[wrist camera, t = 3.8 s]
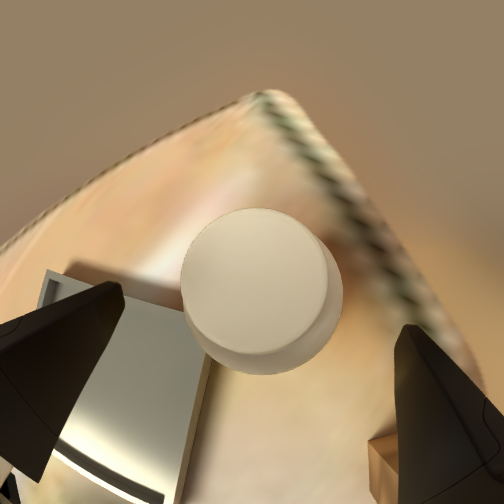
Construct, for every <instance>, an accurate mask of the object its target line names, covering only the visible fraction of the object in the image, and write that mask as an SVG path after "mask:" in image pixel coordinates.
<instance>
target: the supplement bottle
mask: <svg viewBox="0 0 504 504" xmlns="http://www.w3.org/2000/svg"><path fill="white" fill-rule="evenodd" d="M180 284H181V294H182V298H183V307H184V313H185V317H186V321H187V324H188V326H189V329H190V331H191V333H192V335H193V336H194V338H195V339H196V341H197V342H198V344H199V345H200V346H201V347H202V349H203V350H204V351H205V352H206V353H207V354H208V355H209V356H211V357H212V358H213V359H214V360H216V361H217V362H219V363H220V364H222V365H224V366H226V367H228V368H230V369H232V370H235V371H238V372H242V373H246V374H253V375H272V374H278V373H283V372H286V371H289V370H292V369H294V368H296V367H299V366H301V365H302V364H304V363H306V362H307V361H309V360H310V359H311V358H313V357H314V356H315V355H316V354H317V353H318V352H319V351H320V350H321V349H322V348H323V347H324V346H325V345H326V344H327V342H328V341H329V339H330V338H331V336H332V335H333V333H334V331H335V329H336V327H337V324H338V322H339V319H340V315H341V311H342V306H343V285H342V279H341V275H340V271H339V269H338V266H337V263H336V261H335V259H334V258H333V256H332V254H331V252H330V251H329V249H328V248H327V247H326V246H325V245H324V243H323V242H322V241H321V240H320V239H319V238H318V237H316V236H315V235H314V234H313V233H312V232H311V231H310V230H309V229H308V228H307V227H306V226H305V225H304V224H302V223H301V222H300V221H298V220H297V219H295V218H293V217H291V216H290V215H288V214H285V213H282V212H280V211H277V210H272V209H267V208H246V209H241V210H236V211H233V212H231V213H228V214H225V215H223V216H221V217H219V218H218V219H216V220H215V221H213V222H212V223H210V224H209V225H208V226H206V227H205V228H204V229H203V230H202V231H201V232H200V233H199V235H198V236H197V237H196V238H195V239H194V241H193V242H192V244H191V246H190V247H189V249H188V251H187V254H186V256H185V258H184V262H183V265H182V271H181V281H180Z"/></svg>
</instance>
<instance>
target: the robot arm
mask: <svg viewBox="0 0 504 504" xmlns="http://www.w3.org/2000/svg"><path fill="white" fill-rule="evenodd" d="M124 309H125V299H124V295H123V291H122V287H121V285H120V283H118V282H115V281H106V282H104V283H101V284H99V285H96V286H94V287H91V288H89V289H86V290H84V291H81V292H79V293H76V294H74V295H71V296H69V297H66V298H64V299H61V300H59V301H56V302H54V303H52V304H49V305H47V306H44V307H42V308H39V309H37V310H35V311H32V312H30V313H27V314H25V315H24V316H20V317H18V318H16V319H13V320H11V321H8V322H6V323H3V324H0V504H21V502H20V498H19V493H18V489H17V484H16V479H15V475H14V474H13V473H12V472H11V470H12V469H13V467H15V468H16V469H18V470H19V471H20V472H22V473H23V474H25V475H26V476H28V477H29V478H30V479H32V480H33V481H35V482H36V483H39V481H40V480H41V477H42V475H43V472H44V470H45V468H46V465H47V463H48V461H49V458H50V456H51V454H52V452H53V450H54V447H55V445H56V443H57V441H58V438H59V436H60V434H61V432H62V430H63V428H64V426H65V424H66V422H67V420H68V418H69V416H70V414H71V412H72V410H73V408H74V406H75V404H76V402H77V400H78V398H79V396H80V394H81V392H82V390H83V389H84V387H85V385H86V383H87V381H88V379H89V377H90V376H91V374H92V372H93V370H94V368H95V367H96V365H97V363H98V361H99V359H100V358H101V356H102V354H103V352H104V351H105V349H106V347H107V345H108V343H109V341H110V339H111V337H112V335H113V333H114V330H115V328H116V326H117V324H118V322H119V320H120V318H121V315H122V313H123V311H124ZM394 394H395V407H396V421H397V438H398V504H504V416H503V415H502V414H501V413H500V411H498V409H497V408H496V407H495V406H494V405H493V404H492V403H491V401H490V400H489V399H488V398H487V397H485V395H484V394H483V393H482V391H481V390H480V389H479V388H478V387H477V386H476V385H475V384H474V383H473V382H472V381H471V379H470V378H469V377H468V376H467V375H466V374H465V373H464V372H463V371H462V370H461V369H460V368H459V367H458V366H457V365H456V363H455V362H454V361H453V360H452V359H451V358H450V357H449V356H448V355H447V354H446V353H445V352H444V351H443V350H442V349H441V348H440V347H439V346H438V345H437V344H436V343H435V342H434V341H433V340H432V339H431V338H430V337H429V336H428V335H427V334H426V333H425V332H424V331H423V330H422V329H421V328H420V327H419V326H418V325H412V324H406V325H404V326H403V328H402V330H401V333H400V335H399V337H398V339H397V342H396V344H395V348H394Z"/></svg>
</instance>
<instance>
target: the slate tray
mask: <svg viewBox="0 0 504 504" xmlns="http://www.w3.org/2000/svg"><path fill="white" fill-rule="evenodd" d="M91 287H94V285H91V284H88V283H85V282H82V281H79V280H76V279H73V278H70V277H67V276H65V275H62V274H59V273H56V272H54V271H51V270H48V269H47V271H46V274H45V278H44V281H43V285H42V289H41V292H40V296H39V300H38V304H37V309H39V308H42V307H44V306H47V305H49V304H52V303H54V302H56V301H59V300H61V299H64V298H66V297H69V296H71V295H74V294H76V293H79V292H81V291H84V290H86V289H89V288H91ZM124 299H125V309H124V311H123V313H122V315H121V318H120V320H119V322H118V324H117V326H116V328H115V330H114V333H113V335H112V337H111V339H110V341H109V343H108V345H107V347H106V349H105V351H104V352H103V354H102V356H101V358H100V359H99V361H98V363H97V365H96V367H95V368H94V370H93V372H92V374H91V376H90V377H89V379H88V381H87V383H86V385H85V387H84V389H83V390H82V392H81V394H80V396H79V398H78V400H77V402H76V404H75V406H74V408H73V410H72V412H71V414H70V416H69V418H68V420H67V422H66V424H65V426H64V428H63V430H62V432H61V434H60V436H59V438H58V441H57V443H56V445H55V447H54V450H53V452H52V454H53V455H55V456H56V457H57V458H59V459H60V460H61V461H63V462H64V463H66V464H67V465H69V466H70V467H72V468H73V469H75V470H76V471H78V472H79V473H81V474H82V475H84V476H85V477H87V478H89V479H90V480H92V481H94V482H95V483H97V484H99V485H100V486H102V487H104V488H106V489H107V490H109V491H111V492H113V493H115V494H117V495H119V496H121V497H122V498H124V499H126V500H128V501H131V502H133V503H135V504H180V502H181V498H182V493H183V488H184V483H185V479H186V474H187V469H188V465H189V460H190V455H191V451H192V446H193V442H194V437H195V433H196V428H197V424H198V419H199V415H200V410H201V406H202V401H203V397H204V393H205V388H206V384H207V380H208V375H209V371H210V367H211V362H212V357H211V356H209V355H208V354H207V353H206V352H205V351H204V350H203V349H202V347H201V346H200V345H199V344H198V342H197V341H196V339H195V338H194V336H193V335H192V333H191V331H190V329H189V326H188V324H187V321H186V317H185V313H184V312H182V311H178V310H174V309H170V308H167V307H163V306H159V305H156V304H152V303H149V302H145V301H142V300H138V299H135V298H132V297H128V296H125V295H124ZM37 309H36V310H37Z"/></svg>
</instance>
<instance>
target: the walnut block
mask: <svg viewBox="0 0 504 504" xmlns="http://www.w3.org/2000/svg"><path fill="white" fill-rule="evenodd" d="M368 457H369V481H370V492H371V493H372V495H373V497H374V499H375V500H376V502H377V504H398V438H397V433H394V434H391V435H388V436H384V437H381V438H378V439H374V440H370V441H368Z"/></svg>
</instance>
